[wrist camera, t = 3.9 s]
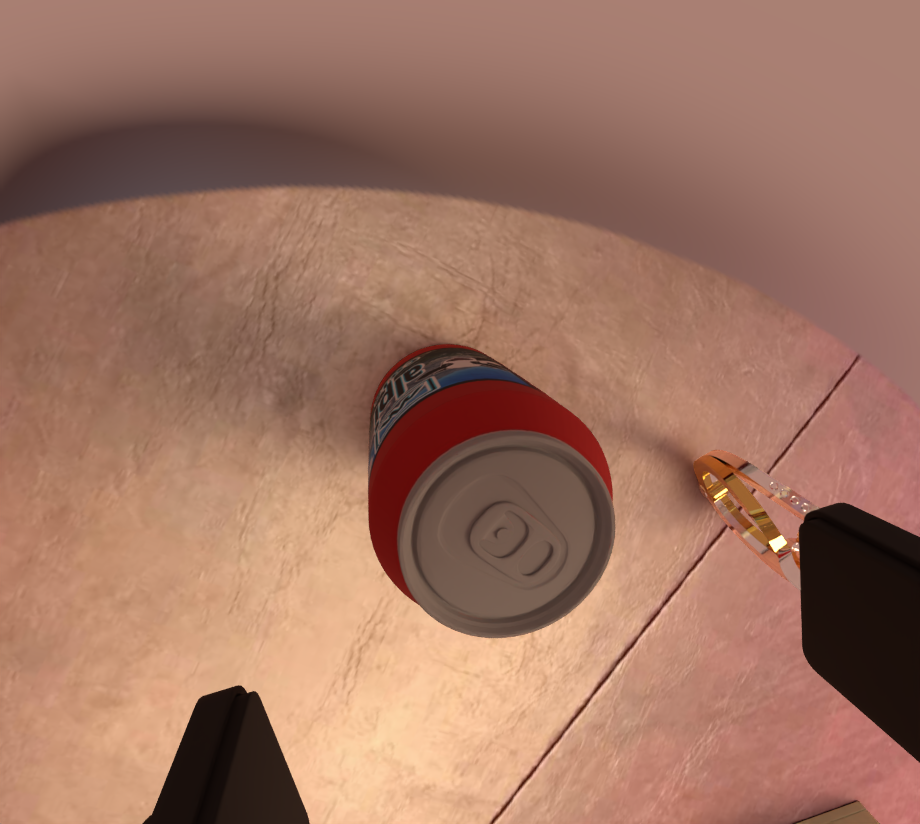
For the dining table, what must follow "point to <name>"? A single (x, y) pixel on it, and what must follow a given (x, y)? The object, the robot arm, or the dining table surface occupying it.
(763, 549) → the ring
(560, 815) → the dining table surface
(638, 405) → the dining table surface
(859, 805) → the grid
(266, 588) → the dining table surface
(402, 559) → the beverage can
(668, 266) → the dining table surface
